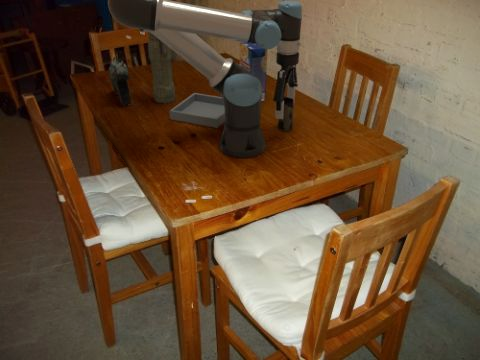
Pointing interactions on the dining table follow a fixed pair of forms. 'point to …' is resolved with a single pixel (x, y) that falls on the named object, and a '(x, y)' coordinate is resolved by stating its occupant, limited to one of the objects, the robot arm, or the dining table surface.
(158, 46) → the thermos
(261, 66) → the beverage box
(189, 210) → the dining table surface
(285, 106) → the mug
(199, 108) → the box
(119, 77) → the ceramic cat
